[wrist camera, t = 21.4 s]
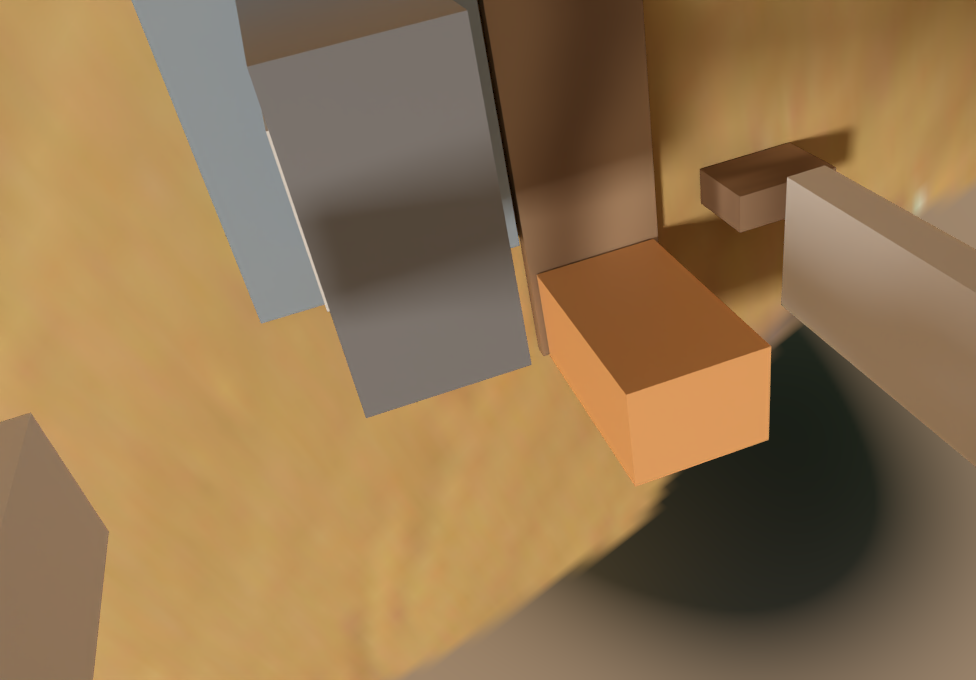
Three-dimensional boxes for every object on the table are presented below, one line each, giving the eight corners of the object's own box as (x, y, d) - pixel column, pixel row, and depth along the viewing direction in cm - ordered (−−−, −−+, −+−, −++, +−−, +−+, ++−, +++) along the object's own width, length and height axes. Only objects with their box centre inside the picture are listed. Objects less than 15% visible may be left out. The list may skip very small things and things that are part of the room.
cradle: (538, 348, 35) (563, 387, 33) (420, -339, 22) (446, -359, 20) (785, 269, 37) (826, 300, 34) (809, -414, 24) (879, -442, 21)
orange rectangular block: (549, 355, 34) (635, 486, 28) (536, 274, 32) (626, 394, 25) (658, 320, 35) (768, 439, 28) (653, 238, 33) (770, 346, 26)
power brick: (316, 254, 29) (360, 420, 21) (227, -13, 24) (238, 68, 16) (442, 217, 30) (531, 364, 22) (380, -50, 25) (467, 10, 17)
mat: (260, 313, 30) (261, 323, 30) (108, -68, 23) (105, -66, 23) (513, 236, 32) (519, 245, 31) (445, -145, 25) (451, -145, 24)
